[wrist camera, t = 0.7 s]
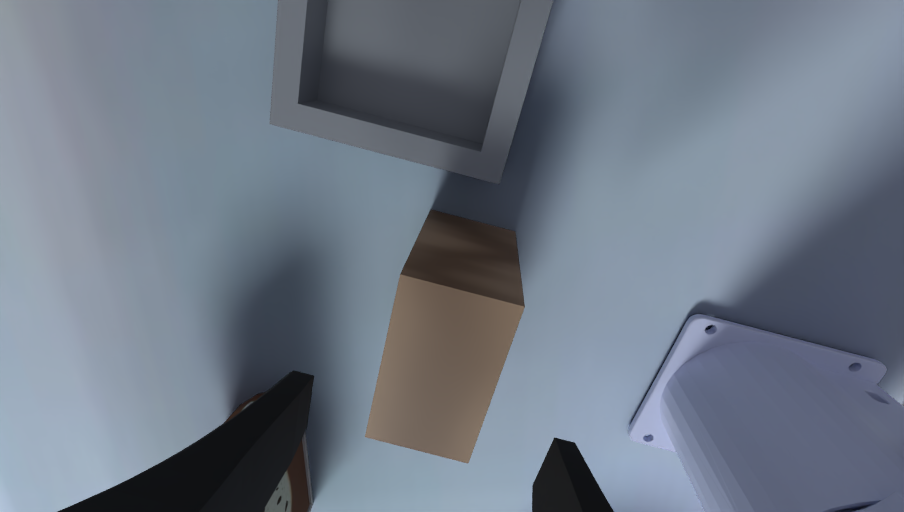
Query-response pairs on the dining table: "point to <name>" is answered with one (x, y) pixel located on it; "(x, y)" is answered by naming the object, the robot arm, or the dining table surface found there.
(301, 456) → the food container
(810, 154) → the dining table surface
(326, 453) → the dining table surface
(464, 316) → the brown block
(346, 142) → the grey shallow tray
